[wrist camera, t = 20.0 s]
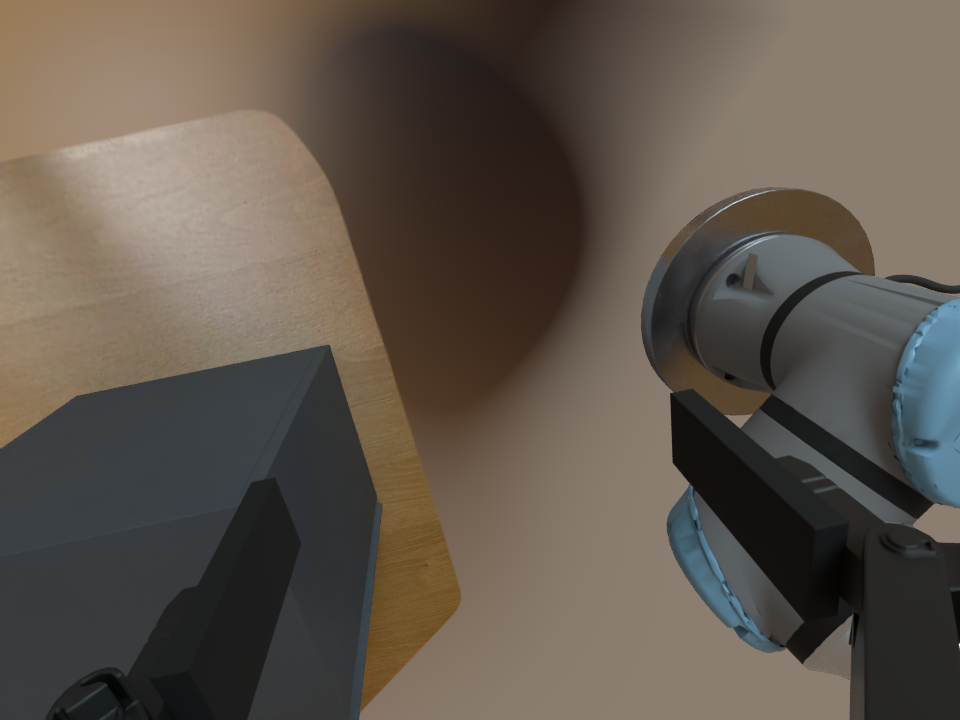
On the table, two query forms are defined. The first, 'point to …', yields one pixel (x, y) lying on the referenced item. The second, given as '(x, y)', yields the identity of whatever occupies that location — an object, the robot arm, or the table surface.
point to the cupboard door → (365, 620)
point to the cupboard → (182, 527)
